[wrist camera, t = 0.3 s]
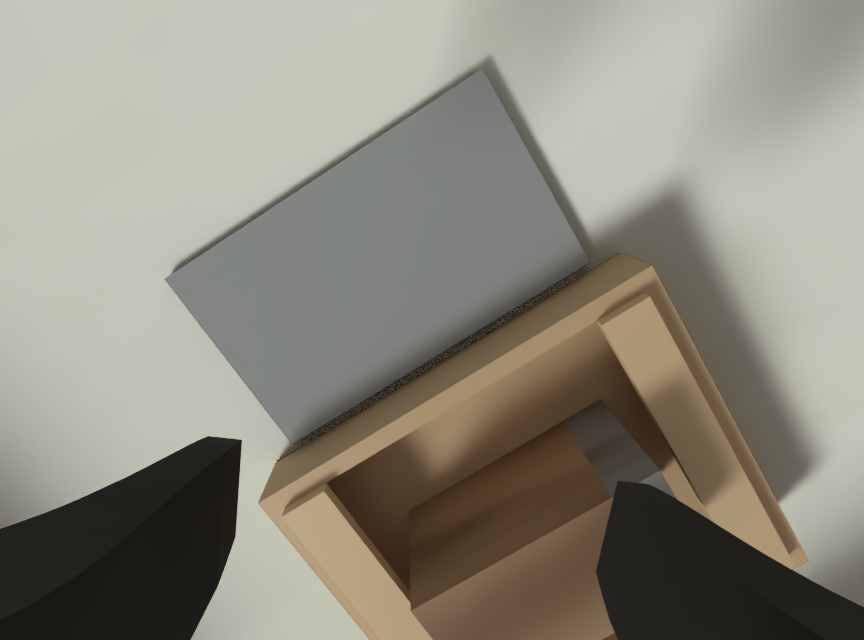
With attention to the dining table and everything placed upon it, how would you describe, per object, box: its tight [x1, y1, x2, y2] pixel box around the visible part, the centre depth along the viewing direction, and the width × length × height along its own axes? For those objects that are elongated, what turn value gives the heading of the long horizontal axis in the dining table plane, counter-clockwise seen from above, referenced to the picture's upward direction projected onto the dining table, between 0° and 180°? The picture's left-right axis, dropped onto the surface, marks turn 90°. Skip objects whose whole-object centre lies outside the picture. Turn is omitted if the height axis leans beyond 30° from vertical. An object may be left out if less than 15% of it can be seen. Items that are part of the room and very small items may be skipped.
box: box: [409, 399, 677, 640], centre depth 19 cm, size 4×8×5 cm, turn 122°
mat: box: [165, 69, 590, 444], centre depth 19 cm, size 7×12×1 cm, turn 122°
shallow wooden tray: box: [258, 253, 809, 640], centre depth 20 cm, size 12×14×3 cm
